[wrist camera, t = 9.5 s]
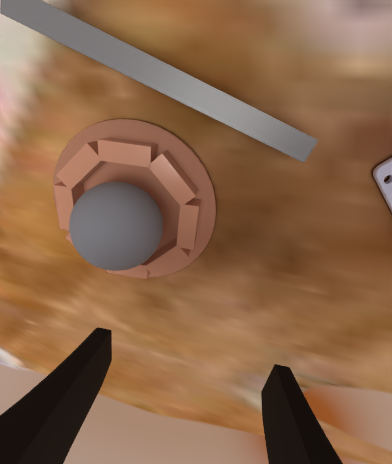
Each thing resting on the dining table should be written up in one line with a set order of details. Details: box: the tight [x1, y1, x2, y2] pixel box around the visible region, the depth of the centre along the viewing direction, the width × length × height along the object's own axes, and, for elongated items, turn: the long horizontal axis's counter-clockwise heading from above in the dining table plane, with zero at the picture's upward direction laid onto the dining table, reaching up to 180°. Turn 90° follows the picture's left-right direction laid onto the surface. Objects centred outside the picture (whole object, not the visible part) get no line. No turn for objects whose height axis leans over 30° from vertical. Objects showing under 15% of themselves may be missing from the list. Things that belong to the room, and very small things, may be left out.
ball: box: [69, 181, 163, 271], centre depth 15 cm, size 6×6×6 cm
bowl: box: [53, 119, 216, 279], centre depth 17 cm, size 12×12×2 cm
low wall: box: [0, 0, 318, 163], centre depth 13 cm, size 16×1×3 cm, turn 66°
